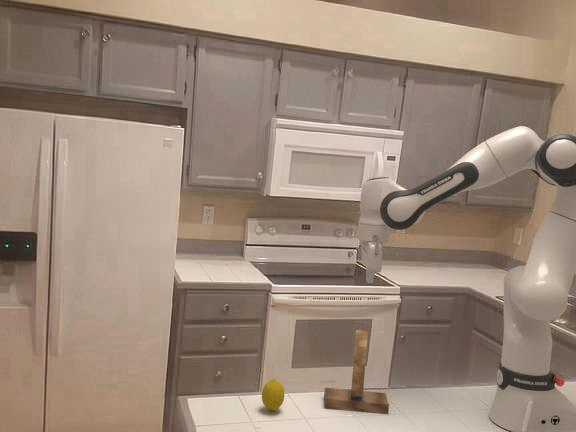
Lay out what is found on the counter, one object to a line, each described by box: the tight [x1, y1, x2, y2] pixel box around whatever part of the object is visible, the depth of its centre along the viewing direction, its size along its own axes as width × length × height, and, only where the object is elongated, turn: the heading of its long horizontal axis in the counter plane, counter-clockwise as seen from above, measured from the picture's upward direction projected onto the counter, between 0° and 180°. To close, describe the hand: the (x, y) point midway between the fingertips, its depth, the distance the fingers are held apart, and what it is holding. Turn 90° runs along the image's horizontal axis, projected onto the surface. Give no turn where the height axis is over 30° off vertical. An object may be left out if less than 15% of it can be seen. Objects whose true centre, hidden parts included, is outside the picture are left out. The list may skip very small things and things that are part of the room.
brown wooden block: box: [323, 387, 390, 415], centre depth 135 cm, size 16×7×3 cm, turn 87°
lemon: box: [261, 378, 285, 412], centre depth 128 cm, size 6×6×8 cm
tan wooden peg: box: [350, 329, 369, 398], centre depth 133 cm, size 3×3×17 cm
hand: (369, 282), depth 149 cm, fingers closed
